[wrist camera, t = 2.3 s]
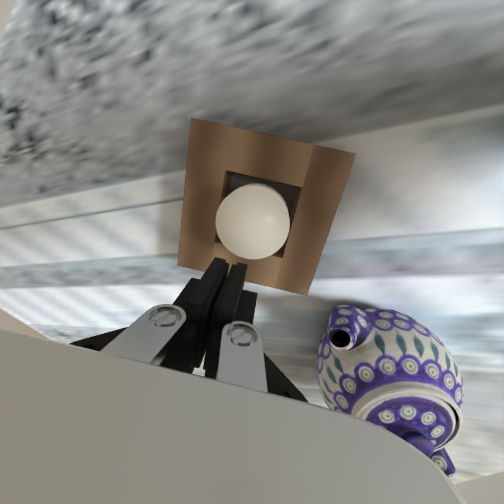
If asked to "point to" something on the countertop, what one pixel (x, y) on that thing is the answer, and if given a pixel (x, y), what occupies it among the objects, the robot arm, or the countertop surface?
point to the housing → (271, 168)
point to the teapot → (393, 378)
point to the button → (253, 221)
